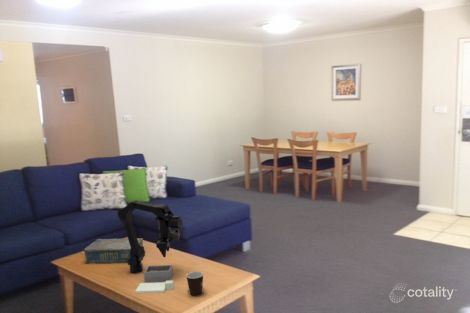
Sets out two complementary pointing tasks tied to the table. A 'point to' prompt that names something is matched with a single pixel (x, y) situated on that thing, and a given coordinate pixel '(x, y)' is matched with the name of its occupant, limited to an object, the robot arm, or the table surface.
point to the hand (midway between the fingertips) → (166, 254)
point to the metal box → (109, 251)
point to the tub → (158, 273)
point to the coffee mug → (195, 283)
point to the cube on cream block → (155, 287)
